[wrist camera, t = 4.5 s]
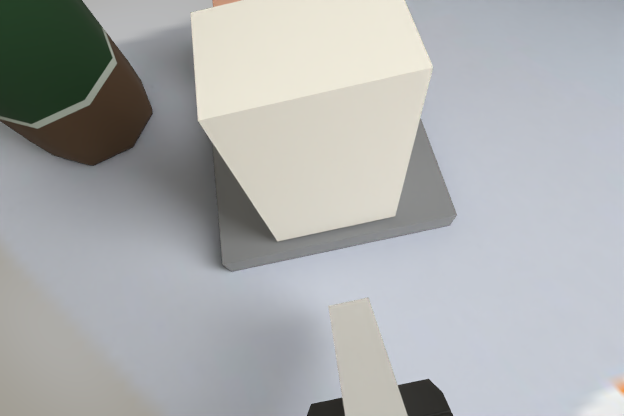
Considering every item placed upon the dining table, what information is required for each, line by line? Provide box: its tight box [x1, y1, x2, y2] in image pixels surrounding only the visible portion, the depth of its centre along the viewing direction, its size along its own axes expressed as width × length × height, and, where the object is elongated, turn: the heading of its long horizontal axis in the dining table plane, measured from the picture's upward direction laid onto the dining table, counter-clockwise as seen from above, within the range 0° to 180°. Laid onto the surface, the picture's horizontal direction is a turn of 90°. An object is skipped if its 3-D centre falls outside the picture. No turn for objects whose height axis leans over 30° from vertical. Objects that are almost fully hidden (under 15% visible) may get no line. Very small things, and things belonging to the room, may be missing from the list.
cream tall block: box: [191, 0, 433, 241], centre depth 14 cm, size 6×4×10 cm, turn 101°
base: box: [212, 118, 457, 271], centre depth 22 cm, size 12×17×2 cm
